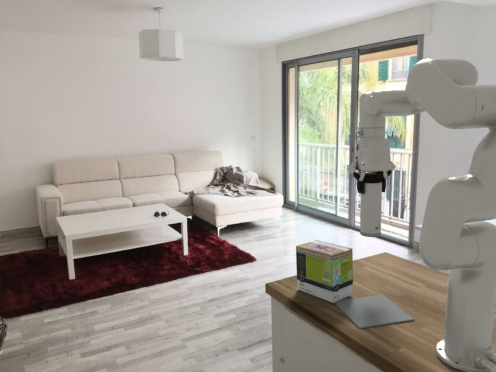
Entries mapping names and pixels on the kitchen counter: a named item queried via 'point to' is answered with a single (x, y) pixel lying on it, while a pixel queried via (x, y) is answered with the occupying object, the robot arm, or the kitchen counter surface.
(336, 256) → the tea box
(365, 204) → the travel mug
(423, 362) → the kitchen counter surface
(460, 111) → the robot arm
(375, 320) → the mat
